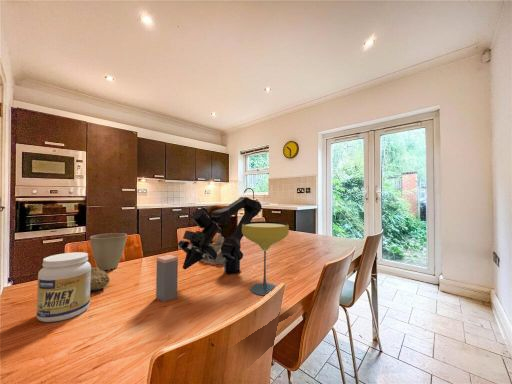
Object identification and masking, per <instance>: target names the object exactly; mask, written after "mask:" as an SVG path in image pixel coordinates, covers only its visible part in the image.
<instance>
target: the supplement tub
mask: <svg viewBox="0 0 512 384" xmlns="http://www.w3.org/2000/svg"><path fill="white" fill-rule="evenodd" d="M88 260H89V254H88V253H87V252H83V251H81V252H80V251H77V252H74V251H73V252H65V253H59V254H53V255H49V256H47V257H44V258H43V260H42V264H41V265H42V268H41V269H40V270H39V271H38V274H37V291H36V295H37V296H36V318H37V319H38V321H40V322H44V323H52V322H61V321H65V320H68V319H72V318H74V317H77V316H78V315H81V314H82V313H84V312H85V311H87V310H88V308H89V307H90V303H91V290H90V281H91V267H92V264H91V263H90V262H89V261H88Z"/></svg>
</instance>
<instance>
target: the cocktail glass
mask: <svg viewBox="0 0 512 384" xmlns="http://www.w3.org/2000/svg"><path fill="white" fill-rule="evenodd" d="M289 233H290V226H289V224H288V223H286V222H278V221H265V220H264V221H263V220H262V221H251V222H246V223H243V224H242V234H243V237H245V238H246V239H247V240H249V241H251V242H252V243H255V244H257V246H259V248H260V249H261V250H262V251H263V282H262V283H261V282H259V283H256V284H253V285H251V286H250V291H251V292H252V293H253V294H254V295H258V296H262V297H264V296H265V295H266V294H268V293H269V292H270V291H272V290H273V289H274V288H275V287H276V286H277V285H275V284H272V283H267V273H266V271H267V270H266V269H267V268H266V265H267V263H266V262H267V261H266V259H267V256H266V255H267V253H266V252H267V251H268V250H269V249H270V247H271V246H272V245H274V244H276V243H279V242H281V241H283V240H284V239H285V238H286V237H288V235H289Z"/></svg>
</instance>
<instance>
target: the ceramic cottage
mask: <svg viewBox="0 0 512 384" xmlns="http://www.w3.org/2000/svg"><path fill="white" fill-rule="evenodd" d="M224 239H225V237H224V236H222V233H217V236H214V242H213V243H212V244H209V245H208V246H211V247H212V248H213V249H214V250H215V251H216V252H217V258H216V259H215V260H211V259H209V256H210V255H207V254H205V256H204V259H202V260H201V261H204V262H203V263H205V262H207V263H206V264H209V263H211V264H210V265H214V264H219V265H224V262H225V258H223V256H222V253H221V246H222V243H223V242H224ZM201 261H200V262H201Z"/></svg>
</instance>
